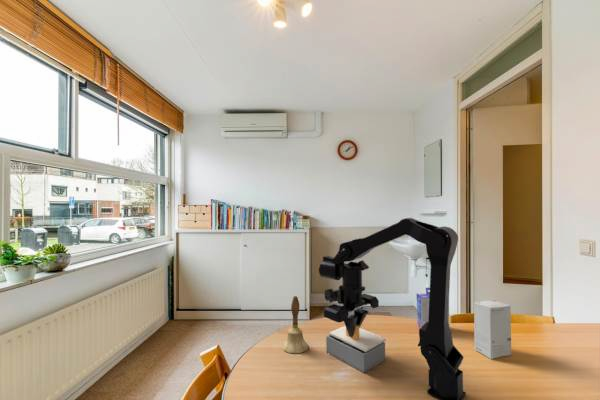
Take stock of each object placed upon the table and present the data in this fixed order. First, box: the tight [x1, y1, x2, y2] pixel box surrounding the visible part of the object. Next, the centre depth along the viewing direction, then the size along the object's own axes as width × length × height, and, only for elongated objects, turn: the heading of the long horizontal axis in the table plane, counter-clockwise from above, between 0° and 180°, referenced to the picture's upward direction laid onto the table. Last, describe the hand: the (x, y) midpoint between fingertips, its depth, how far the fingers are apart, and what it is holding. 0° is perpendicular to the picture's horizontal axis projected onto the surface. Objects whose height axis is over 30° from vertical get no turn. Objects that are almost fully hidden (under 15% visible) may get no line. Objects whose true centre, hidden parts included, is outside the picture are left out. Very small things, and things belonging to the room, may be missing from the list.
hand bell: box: [281, 295, 309, 355], centre depth 91 cm, size 8×8×16 cm
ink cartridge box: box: [416, 287, 450, 330], centre depth 102 cm, size 10×6×14 cm, turn 86°
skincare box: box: [473, 299, 512, 360], centre depth 87 cm, size 8×6×15 cm
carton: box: [325, 334, 386, 374], centre depth 85 cm, size 14×10×5 cm
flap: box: [328, 325, 387, 352], centre depth 86 cm, size 14×10×5 cm
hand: (352, 335), depth 84 cm, fingers closed on flap
